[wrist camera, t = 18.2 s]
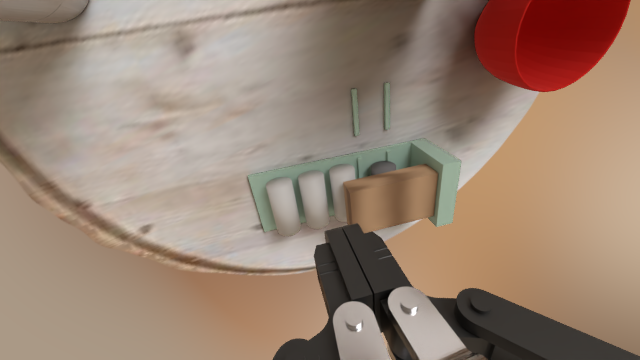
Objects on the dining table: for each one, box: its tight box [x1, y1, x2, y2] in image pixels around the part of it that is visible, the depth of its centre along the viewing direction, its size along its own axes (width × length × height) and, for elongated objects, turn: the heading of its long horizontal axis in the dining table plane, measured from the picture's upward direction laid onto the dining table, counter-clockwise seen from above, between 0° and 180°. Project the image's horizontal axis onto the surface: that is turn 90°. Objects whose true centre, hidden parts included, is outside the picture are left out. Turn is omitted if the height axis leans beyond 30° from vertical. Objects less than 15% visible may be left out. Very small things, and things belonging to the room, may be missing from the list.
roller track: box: [248, 138, 461, 236], centre depth 39 cm, size 27×10×9 cm, turn 98°
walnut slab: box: [343, 164, 438, 233], centre depth 37 cm, size 12×7×3 cm, turn 97°
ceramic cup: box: [474, 0, 631, 92], centre depth 31 cm, size 13×17×10 cm
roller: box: [371, 161, 396, 176], centre depth 41 cm, size 4×6×4 cm, turn 8°
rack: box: [351, 82, 390, 136], centre depth 37 cm, size 5×6×1 cm
